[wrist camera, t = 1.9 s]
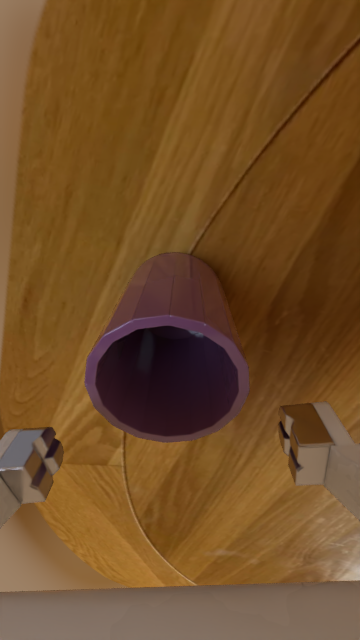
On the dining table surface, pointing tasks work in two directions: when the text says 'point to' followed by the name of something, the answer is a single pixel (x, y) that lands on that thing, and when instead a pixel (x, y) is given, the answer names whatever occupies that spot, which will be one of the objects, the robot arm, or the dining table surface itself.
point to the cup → (169, 354)
